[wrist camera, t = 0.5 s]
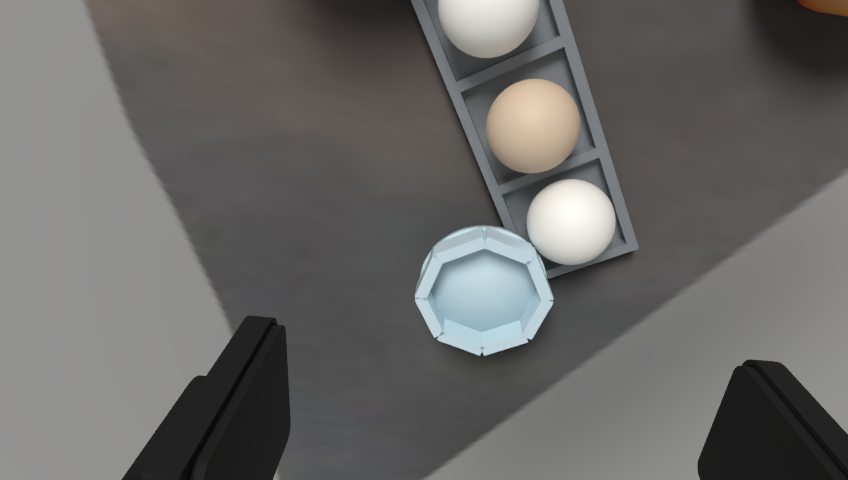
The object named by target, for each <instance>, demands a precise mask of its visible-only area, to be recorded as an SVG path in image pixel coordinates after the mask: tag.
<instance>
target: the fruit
mask: <svg viewBox="0 0 848 480" xmlns="http://www.w3.org/2000/svg"><path fill="white" fill-rule="evenodd" d="M798 2H799V3H800V4H801V5H802V6H804V7H806V8H809V9H811V10H813V11H816V12H819V13H830V14H836V15H841V16H848V0H798Z"/></svg>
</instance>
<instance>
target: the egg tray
mask: <svg viewBox="0 0 848 480" xmlns="http://www.w3.org/2000/svg"><path fill="white" fill-rule="evenodd" d="M411 2H412V5H413V7H414V9H415V12H416V14H417V17H418V19H419V22H420V24H421V26H422V29H423V31H424V34H425V36H426V39H427V41H428V43H429V46H430V48H431V51H432V53H433V55H434V58H435V60H436V63H437V65H438V68H439V70H440V72H441V75H442V77H443V80H444V82H445V85H446V87H447V89H448V92H449V94H450V97H451V99H452V101H453V104H454V106H455V109H456V111H457V114H458V116H459V118H460V121H461V123H462V126H463V128H464V131H465V133H466V135H467V138H468V140H469V143H470V145H471V148H472V150H473V152H474V155H475V157H476V160H477V162H478V164H479V167H480V169H481V172H482V174H483V177H484V179H485V181H486V184H487V186H488V189H489V191H490V194H491V196H492V198H493V201H494V203H495V206H496V208H497V211H498V213H499V215H500V218H501V220H502V223H503V225H504V227H505V228H506V229H509V230H511V231H513V232H516V233H518V234H519V235H521V236H522V237H524V238H525V239H526V240H527V241H529V242H530V243H531V244H532V242H531V240H530V238H529V235H528V231H527V223H526V221H527V214H528V210H529V207H530V205H531V203H532V201H533V199H534V198H535V196H536V195H537V194H538V193H539V192H540V191H541V190H542V189H544V188H545V187H546V186H548V185H550V184H552V183H554V182H557V181H560V180H565V179H578V180H583V181H586V182H589V183H591V184H593V185H595V186H597V187H598V188H599V189H601V190H602V191H603V192H604V193H605V194H606V196H607V197H608V198H609V200H610V201H611V203H612V206H613V208H614V212H615V218H616V226H615V231H614V235H613V238H612V240H611V242H610V243H609V245H608V246H607V248H606V249H605V250H604V251H603V252H602V253H601V254H600V255H599V256H597V257H596V258H594V259H592V260H591V261H588V262H586V263H582V264H577V265H564V264H559V263H556V262H553V261H551V260H549V259H547V258H546V257H544V256H543V255H542V254H541V253H539V252H538V250H537V249H536V248H535V249H536V250H537V252H538V253H539V255H540V257H541V259H542V261H543V264H544V267H545V271H546V275H547V279H550V278H553V277H556V276H559V275H562V274H565V273H568V272H571V271H574V270H577V269H580V268H583V267H586V266H589V265H592V264H595V263H598V262H601V261H604V260H607V259H610V258H613V257H616V256H619V255H622V254H625V253H628V252H631V251H634V250H637V249H639V247H638V244H637V241H636V238H635V234H634V231H633V228H632V225H631V221H630V218H629V215H628V212H627V208H626V205H625V202H624V199H623V195H622V192H621V189H620V186H619V182H618V179H617V176H616V173H615V169H614V166H613V163H612V160H611V156H610V153H609V150H608V147H607V143H606V140H605V137H604V134H603V131H602V127H601V124H600V121H599V118H598V114H597V111H596V108H595V105H594V101H593V98H592V95H591V92H590V88H589V85H588V82H587V79H586V75H585V72H584V69H583V66H582V62H581V59H580V56H579V53H578V49H577V46H576V43H575V40H574V37H573V33H572V30H571V27H570V24H569V20H568V17H567V14H566V11H565V7H564V4H563V1H562V0H540V5H539V12H538V16H537V19H536V22H535V25H534V27H533V29H532V31H531V32H530V34H529V35H528V37H527V38H526V39H525V40H524V41H523V42H522V43H521V44H520V45H519V46H518V47H517V48H515V49H514V50H512V51H510V52H509V53H507V54H504V55H502V56H498V57H494V58H479V57H474V56H471V55H469V54H467V53H465V52H463V51H461V50H460V49H458V48H457V47H456V46H455V45H454V44H453V43H452V42H451V41H450V40H449V38H448V37H447V35H446V34H445V32H444V30H443V28H442V25H441V22H440V18H439V13H438V0H411ZM527 79H544V80H548V81H551V82H554V83H556V84H558V85H559V86H561V87H562V88H564V89H565V90H566V91H567V92H568V93H569V94H570V95H571V97H572V98H573V100H574V102H575V103H576V105H577V108H578V111H579V115H580V133H579V137H578V141H577V143H576V145H575V147H574V149H573V150H572V152H571V153H570V155H569V156H568V157H567V158H566V159H565V160H564V161H563V162H561V163H560V164H559V165H557V166H556V167H554V168H552V169H550V170H547V171H544V172H539V173H522V172H518V171H515V170H513V169H511V168H509V167H507V166H506V165H504V164H503V163H502V162H500V161H499V160H498V159H497V157H496V156H495V155H494V153H493V152H492V150H491V148H490V146H489V143H488V140H487V135H486V121H487V116H488V113H489V110H490V108H491V106H492V104H493V102H494V101H495V99H496V98H497V97H498V96H499V94H500V93H501V92H502V91H504V90H505V89H506V88H508V87H509V86H510V85H512V84H514V83H516V82H519V81H522V80H527ZM532 245H533V244H532ZM533 247H534V245H533Z"/></svg>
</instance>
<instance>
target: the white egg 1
mask: <svg viewBox="0 0 848 480" xmlns="http://www.w3.org/2000/svg"><path fill="white" fill-rule="evenodd" d="M539 5H540V0H438V13H439V18H440V22H441V25H442V28H443V30H444V32H445V34H446V35H447V37H448V38H449V40H450V41H451V42H452V43H453V44H454V45H455V46H456V47H457V48H458V49H460V50H461V51H463V52H465V53H467V54H469V55H471V56H474V57H479V58H494V57H498V56H502V55H504V54H507V53H509V52H510V51H512V50H514V49H515V48H517V47H518V46H519V45H520V44H521V43H522V42H523V41H524V40H525V39H526V38H527V37H528V35H529V34H530V32H531V31H532V29H533V27H534V25H535V22H536V19H537V16H538V12H539Z"/></svg>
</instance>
